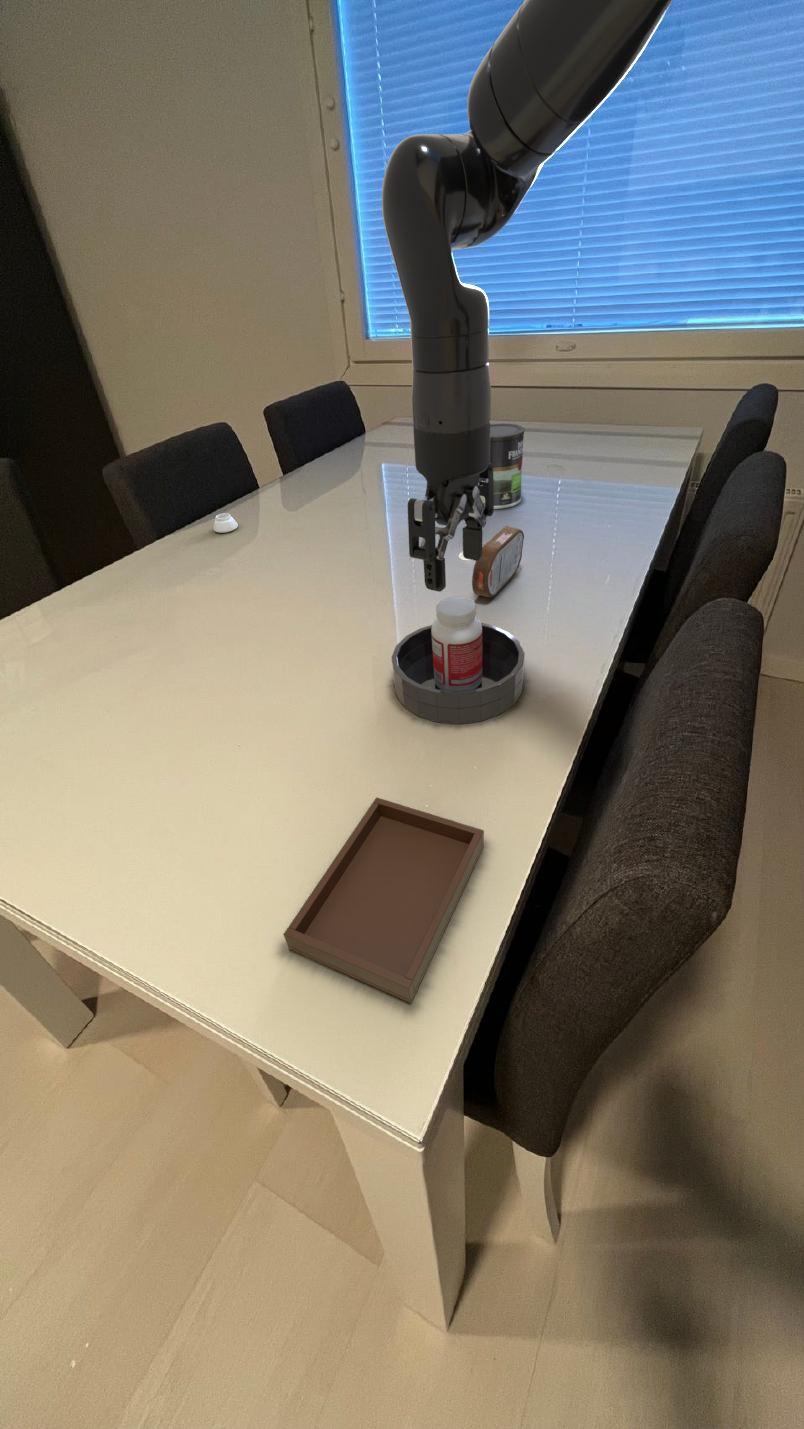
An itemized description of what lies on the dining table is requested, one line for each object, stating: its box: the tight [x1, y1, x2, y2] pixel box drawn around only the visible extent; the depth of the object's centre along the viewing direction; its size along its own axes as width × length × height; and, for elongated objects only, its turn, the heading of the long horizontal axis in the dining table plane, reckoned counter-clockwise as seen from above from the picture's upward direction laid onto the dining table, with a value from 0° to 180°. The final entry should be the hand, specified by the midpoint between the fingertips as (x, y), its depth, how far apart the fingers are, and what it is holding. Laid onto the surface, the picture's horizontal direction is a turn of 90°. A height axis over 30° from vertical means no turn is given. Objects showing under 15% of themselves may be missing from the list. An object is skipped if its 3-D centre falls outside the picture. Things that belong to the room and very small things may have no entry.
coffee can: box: [480, 423, 525, 510], centre depth 124 cm, size 10×10×14 cm
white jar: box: [212, 512, 239, 534], centre depth 127 cm, size 5×3×5 cm
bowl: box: [391, 622, 526, 725], centre depth 77 cm, size 16×16×4 cm
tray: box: [283, 797, 485, 1004], centre depth 53 cm, size 16×11×2 cm
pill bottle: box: [431, 596, 482, 691], centre depth 74 cm, size 6×6×11 cm
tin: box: [471, 525, 525, 598], centre depth 96 cm, size 15×3×8 cm, turn 149°
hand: (454, 573), depth 68 cm, fingers open, 8 cm apart
